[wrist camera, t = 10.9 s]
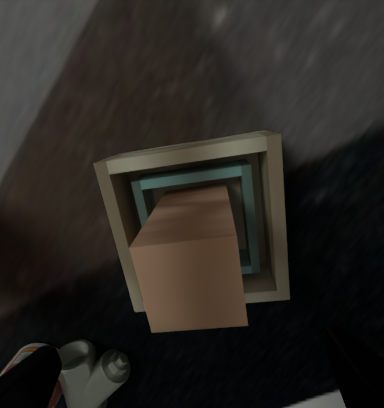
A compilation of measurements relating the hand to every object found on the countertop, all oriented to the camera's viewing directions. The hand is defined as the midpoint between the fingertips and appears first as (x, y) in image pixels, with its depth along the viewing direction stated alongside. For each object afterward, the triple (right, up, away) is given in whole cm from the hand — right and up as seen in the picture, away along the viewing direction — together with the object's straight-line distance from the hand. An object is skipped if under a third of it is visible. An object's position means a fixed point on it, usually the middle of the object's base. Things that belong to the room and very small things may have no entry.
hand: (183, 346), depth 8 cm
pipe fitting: (-9, -13, +19) cm, 25 cm away
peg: (+1, +4, +11) cm, 12 cm away
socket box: (+1, +4, +12) cm, 13 cm away
